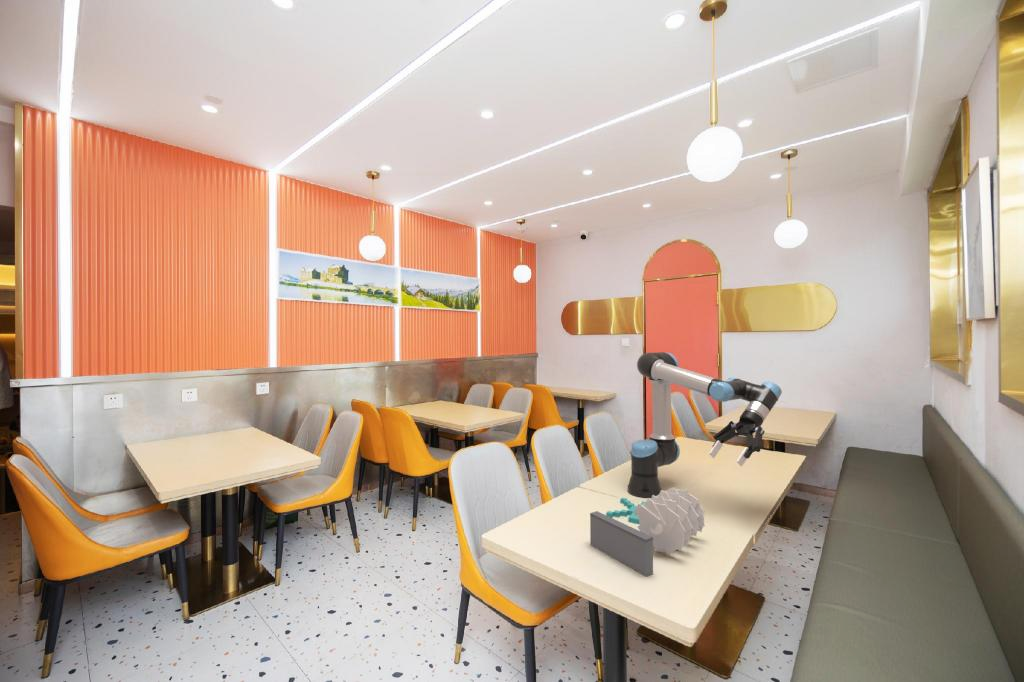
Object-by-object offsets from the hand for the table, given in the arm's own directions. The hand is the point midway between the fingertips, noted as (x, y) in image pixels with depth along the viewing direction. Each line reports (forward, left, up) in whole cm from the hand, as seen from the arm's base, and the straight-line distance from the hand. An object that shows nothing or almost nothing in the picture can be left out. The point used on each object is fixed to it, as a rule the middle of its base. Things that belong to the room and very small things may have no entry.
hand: (724, 459), depth 161 cm
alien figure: (-27, -17, -26) cm, 41 cm away
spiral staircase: (-3, -28, -26) cm, 38 cm away
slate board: (-5, -50, -25) cm, 57 cm away
